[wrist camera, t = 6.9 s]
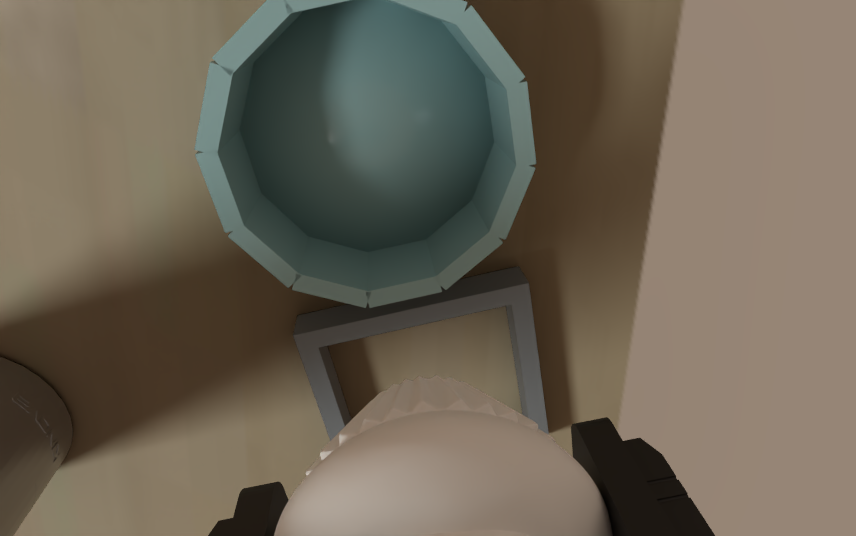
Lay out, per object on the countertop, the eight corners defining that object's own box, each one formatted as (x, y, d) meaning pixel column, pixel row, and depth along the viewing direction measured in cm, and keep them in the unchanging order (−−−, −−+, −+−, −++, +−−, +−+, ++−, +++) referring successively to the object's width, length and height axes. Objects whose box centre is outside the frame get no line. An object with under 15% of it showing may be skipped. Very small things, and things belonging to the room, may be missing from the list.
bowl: (278, 280, 29) (263, 331, 24) (185, 15, 23) (142, 17, 19) (519, 227, 29) (548, 268, 24) (482, -50, 23) (511, -63, 19)
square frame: (353, 478, 35) (353, 504, 33) (297, 315, 30) (292, 335, 28) (542, 436, 35) (552, 459, 33) (518, 266, 30) (528, 283, 28)
